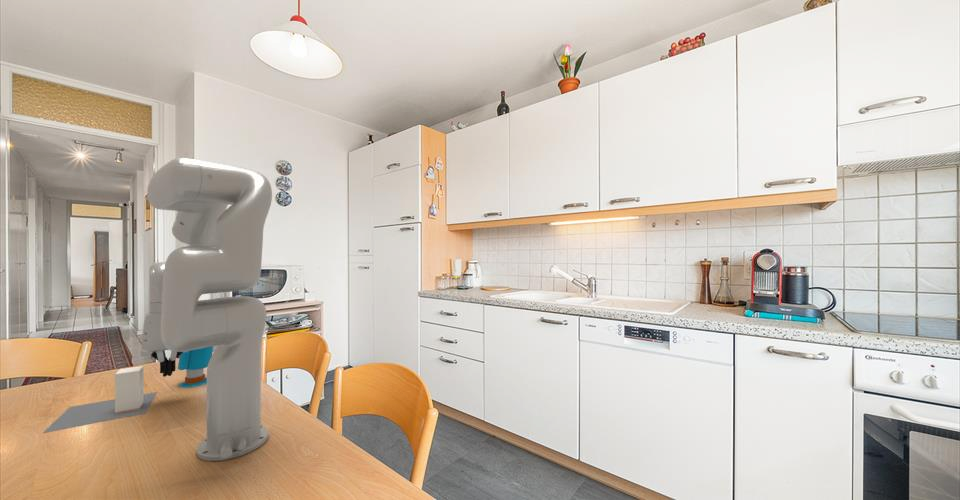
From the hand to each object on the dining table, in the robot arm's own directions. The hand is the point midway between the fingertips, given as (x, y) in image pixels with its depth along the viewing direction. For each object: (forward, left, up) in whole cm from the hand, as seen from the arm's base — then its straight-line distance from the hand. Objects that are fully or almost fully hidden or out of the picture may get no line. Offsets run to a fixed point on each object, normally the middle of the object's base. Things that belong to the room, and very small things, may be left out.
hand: (167, 374), depth 95 cm
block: (0, +7, -7) cm, 10 cm away
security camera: (+13, -5, -8) cm, 16 cm away
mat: (+2, +12, -8) cm, 14 cm away
